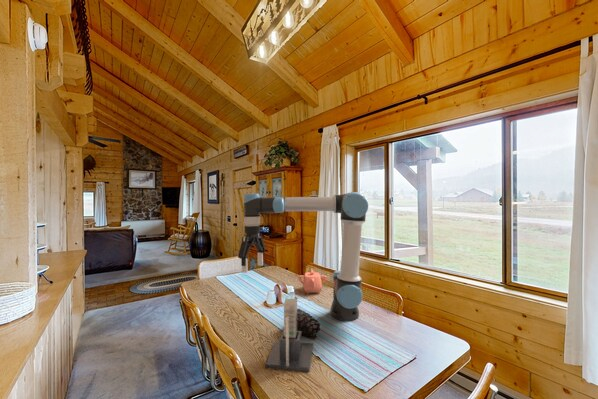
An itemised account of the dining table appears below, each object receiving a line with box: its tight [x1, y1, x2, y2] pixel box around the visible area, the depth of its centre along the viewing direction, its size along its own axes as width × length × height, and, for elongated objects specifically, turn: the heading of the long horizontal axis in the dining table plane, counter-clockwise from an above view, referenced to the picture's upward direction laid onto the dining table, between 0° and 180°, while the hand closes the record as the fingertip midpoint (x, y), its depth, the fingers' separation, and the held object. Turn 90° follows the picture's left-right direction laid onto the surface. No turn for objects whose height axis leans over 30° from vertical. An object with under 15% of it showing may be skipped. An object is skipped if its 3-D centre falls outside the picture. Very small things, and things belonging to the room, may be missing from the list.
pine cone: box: [297, 308, 321, 341], centre depth 124 cm, size 10×18×10 cm, turn 59°
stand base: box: [265, 316, 314, 372], centre depth 105 cm, size 16×16×19 cm
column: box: [283, 298, 298, 339], centre depth 104 cm, size 4×5×20 cm
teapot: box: [297, 268, 328, 295], centre depth 178 cm, size 17×16×13 cm
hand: (252, 268), depth 130 cm, fingers open, 13 cm apart
